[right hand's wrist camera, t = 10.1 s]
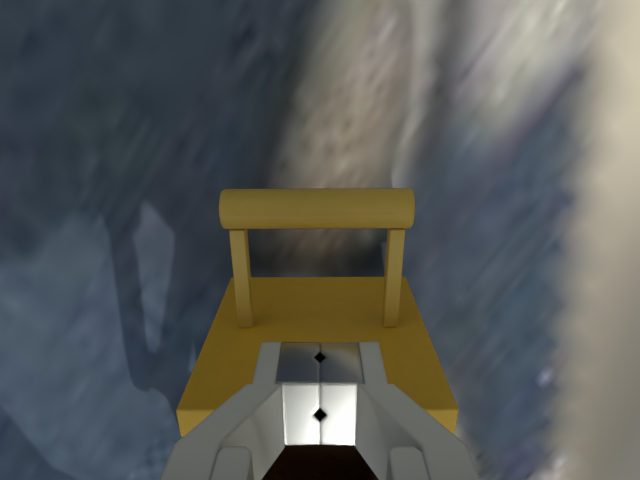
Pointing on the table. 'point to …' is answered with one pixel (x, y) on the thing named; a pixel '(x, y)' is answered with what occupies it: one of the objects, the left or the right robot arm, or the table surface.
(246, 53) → the table surface
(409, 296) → the yellow drawer
